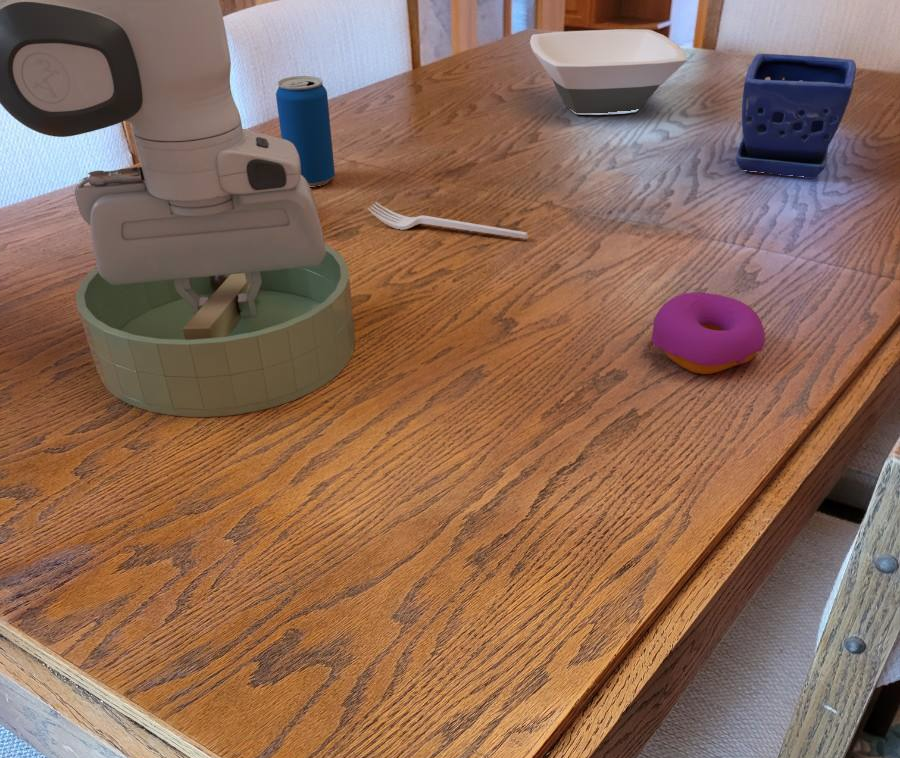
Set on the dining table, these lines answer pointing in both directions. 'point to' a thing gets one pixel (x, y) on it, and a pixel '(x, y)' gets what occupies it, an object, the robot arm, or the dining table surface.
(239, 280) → the stirring stick
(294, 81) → the beverage can
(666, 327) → the donut
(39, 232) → the dining table surface
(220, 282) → the bead
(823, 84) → the flower pot
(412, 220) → the fork
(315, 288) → the green round basin
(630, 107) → the bowl
